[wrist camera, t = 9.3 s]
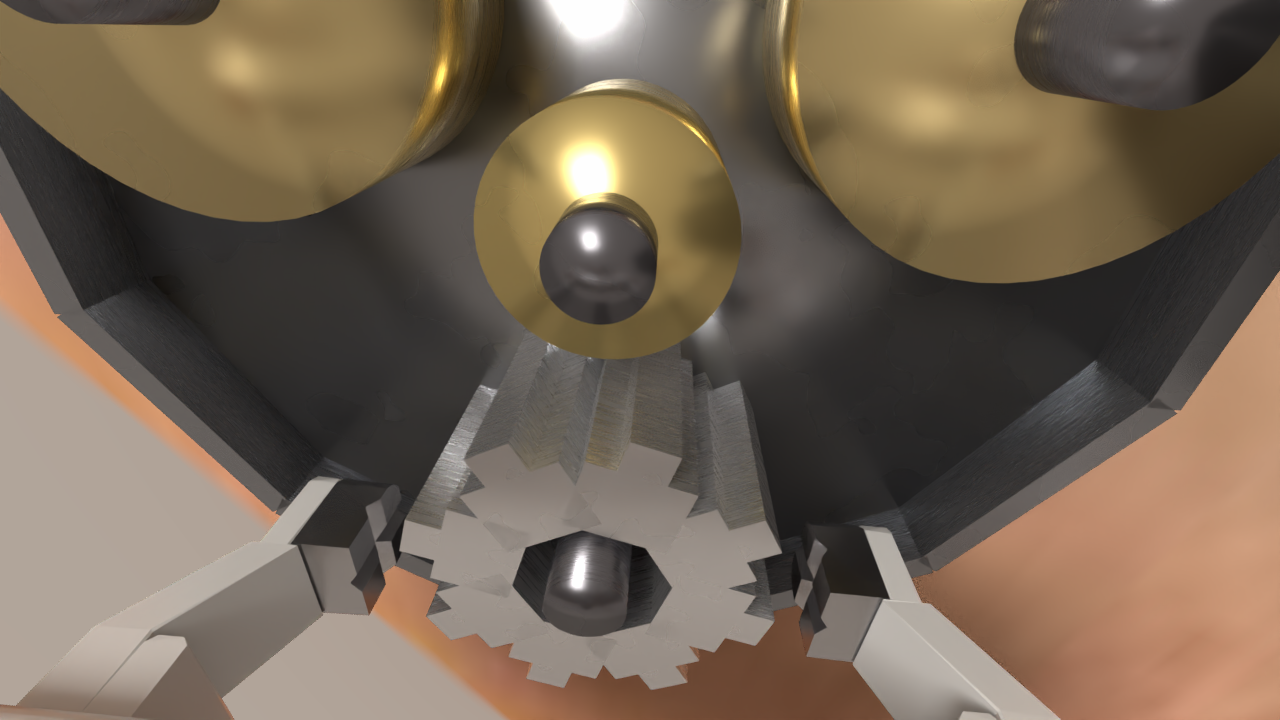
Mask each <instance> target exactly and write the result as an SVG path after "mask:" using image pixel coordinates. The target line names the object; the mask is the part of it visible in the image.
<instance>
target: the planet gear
mask: <svg viewBox="0 0 1280 720" xmlns="http://www.w3.org/2000/svg"><path fill="white" fill-rule="evenodd" d="M581 530H583V531H587V532H590V533H594V534H597V535H601V536H604V537H608V538H611V539H615V540H618V541H622V542H626V543H629V544H632V554H631V566H630V578H629V590H628V602H627V614H626V619H625V622H624V623H623V625H622V626H621V627H620V628H619V629H617V630H616V631H614V632H612V633H610V634H607V635H603V636H597V637H582V636H576V635H572V634H569V633H566V632H563V631H561V630H559V629H558V628H556V627H555V626H553V625H552V624H551V623H550V622H549V621H548V620H547V619H546V617H545V615H544V613H543V609H542V605H543V600H544V596H545V591H546V587H547V583H548V578H549V574H550V570H551V566H552V561H553V557H554V553H555V548H556V544H557V540H558V537H562V536H565V535H568V534H571V533H575V532H578V531H581ZM399 551H402V552H405V553H409V554H413V555H417V556H420V557H424V558H428V559H432V560H434V563H433V568H432V572H431V577H430V578H433V579H437V580H440V581H441V582H440V584H439V586H438V589H437V591H436V594H435V597H434V599H433V601H432V604H431V606H430V608H429V611H428V613H427V615H426V617H427V618H428V619H430V620H431V621H432V622H433V623H434V624H435V625H436V626H437V627H438V628H439V629H440V630H441V631H442V632H443V633H444V634H445V635H446V636H447V637H448V638H449V639H450V640H454V639H458V638H462V637H466V636H469V635H473V634H478V635H479V636H480V637H481V638H482V639H483V640H484V641H485V642H486V643H487V644H488V645H489V646H490V647H491V648H494V647H498V646H502V645H506V644H510V643H512V645H511V649H510V653H509V656H508V657H510V658H514V659H518V660H522V661H526V662H530V664H529V668H528V673H527V677H526V679H529V680H533V681H537V682H541V683H546V684H550V685H554V686H558V687H562V688H564V687H565V685H566V683H567V681H568V679H569V677H570V675H571V673H574V674H578V675H582V676H586V677H590V678H594V679H596V677H597V676H598V674H599V672H600V670H601V668H602V667H603V665H604V666H605V667H606V669H607V670H608V671H609V672H610V673H611V674H612V676H613V677H614V678H615V679H619V678H624V677H628V676H633V675H639V676H640V677H641V678H642V680H643V681H644V682H645V683H646V685H647V686H648V687H649V688H650V689H651V690H655V689H659V688H664V687H669V686H674V685H679V684H683V683H688V678H687V664H688V663H693V662H697V661H699V649H703V650H707V651H710V652H714V653H715V651H716V650H717V648H718V647H719V646H720V644H721V643H722V642H723V640H724V639H725V638H727V639H731V640H735V641H739V642H742V643H746V644H750V645H754V646H756V644H757V643H758V642H759V641H760V639H761V638H762V637H763V636H764V634H765V633H766V632H767V631H768V629H769V628H770V627H771V626H772V624H773V623H774V622H775V620H774V614H773V608H772V602H771V596H770V590H769V584H768V578H767V572H766V567H765V561H764V558H766V557H770V556H773V555H777V554H781V553H782V549H781V544H780V539H779V535H778V530H777V525H776V520H775V515H774V510H773V505H772V500H771V496H770V491H769V486H768V481H767V476H766V471H765V466H764V461H763V457H762V452H761V447H760V442H759V437H758V432H757V427H756V422H755V418H754V413H753V408H752V406H751V403H750V401H749V399H748V397H747V395H746V392H745V390H744V388H743V386H742V384H741V382H740V380H739V381H736V382H733V383H730V384H727V385H725V386H722V387H719V388H716V389H714V388H713V386H712V384H711V382H710V380H709V378H708V376H707V374H706V372H703V373H700V374H698V375H695V376H693V373H692V360H689V359H686V358H683V357H681V344H680V342H679V343H677V344H675V345H673V346H671V347H669V348H666V349H664V350H662V351H659V352H656V353H653V354H650V355H646V356H641V357H636V358H627V359H600V358H593V357H586V356H582V355H579V354H575V353H571V352H569V351H566V350H563V349H561V348H558V347H556V346H554V345H552V344H550V343H548V342H546V341H544V340H542V339H541V338H539V337H538V336H536V335H535V334H533V333H532V332H529V333H526V334H525V336H524V338H523V340H522V342H521V344H520V346H519V348H518V350H517V352H516V354H515V356H514V358H513V360H512V362H511V364H510V366H509V368H508V370H507V372H506V374H505V376H504V378H503V380H502V382H501V384H500V386H499V389H498V390H495V389H492V388H489V387H485V386H482V385H479V387H478V389H477V391H476V392H475V394H474V396H473V398H472V400H471V401H470V403H469V405H468V407H467V409H466V410H465V412H464V414H463V416H462V418H461V419H460V421H459V423H458V425H457V427H456V428H455V430H454V432H453V434H452V436H451V437H450V439H449V441H448V443H447V445H446V446H445V448H444V450H443V452H442V454H441V456H440V457H439V459H438V461H437V463H436V465H435V466H434V468H433V470H432V472H431V474H430V475H429V477H428V479H427V481H426V483H425V484H424V486H423V488H422V490H421V492H420V493H419V495H418V497H417V499H416V501H415V502H414V504H413V506H412V508H411V510H410V511H409V513H408V515H407V517H406V519H405V522H404V527H403V533H402V539H401V544H400V550H399Z"/></svg>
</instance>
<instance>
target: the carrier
mask: <svg viewBox="0 0 1280 720" xmlns="http://www.w3.org/2000/svg"><path fill="white" fill-rule="evenodd" d="M0 213H1V215H2V217H3V219H4V220H5V222H6V224H7V226H8V228H9V230H10V232H11V234H12V235H13V237H14V239H15V241H16V243H17V245H18V247H19V248H20V250H21V252H22V254H23V256H24V258H25V260H26V262H27V263H28V265H29V267H30V269H31V271H32V273H33V275H34V276H35V278H36V280H37V282H38V284H39V286H40V288H41V290H42V291H43V293H44V295H45V297H46V299H47V301H48V303H49V304H50V306H51V308H52V310H53V312H54V314H61V315H60V316H58V318H59V319H60V320H61V321H62V322H63V323H64V324H65V325H67V326H68V327H69V328H70V329H71V330H72V331H73V332H74V333H75V334H76V335H78V336H79V337H80V338H81V339H82V340H83V341H84V342H85V343H86V344H88V345H89V346H90V347H91V348H92V349H93V350H94V351H95V352H96V353H98V354H99V355H100V356H101V357H102V358H103V359H104V360H105V361H106V362H108V363H109V364H110V365H111V366H112V367H113V368H114V369H115V370H116V371H117V372H119V373H120V374H121V375H122V376H123V377H124V378H125V379H126V380H127V381H129V382H130V383H131V384H132V385H133V386H134V387H135V388H136V389H137V390H139V391H140V392H141V393H142V394H143V395H144V396H145V397H146V398H147V399H148V400H150V401H151V402H152V403H153V404H154V405H155V406H156V407H157V408H158V409H160V410H161V411H162V412H163V413H164V414H165V415H166V416H167V417H168V418H170V419H171V420H172V421H173V422H174V423H175V424H176V425H177V426H178V427H180V428H181V429H182V430H183V431H184V432H185V433H186V434H187V435H188V436H189V437H191V438H192V439H193V440H194V441H195V442H196V443H197V444H198V445H199V446H201V447H202V448H203V449H204V450H205V451H206V452H207V453H208V454H209V455H211V456H212V457H213V458H214V459H215V460H216V461H217V462H218V463H219V464H221V465H222V466H223V467H224V468H225V469H226V470H227V471H228V472H229V473H230V474H232V475H233V476H234V477H235V478H236V479H237V480H238V481H239V482H240V483H242V484H243V485H244V486H245V487H246V488H247V489H248V490H249V491H250V492H252V493H253V494H254V495H255V496H256V497H257V498H258V499H259V500H260V501H261V502H263V503H264V504H265V505H266V506H267V507H268V508H269V509H270V510H271V511H276V510H277V511H276V514H278V515H280V516H281V515H282V514H283V513H284V511H285V510H286V509H287V508H288V507H289V505H290V504H291V503H292V502H293V500H294V499H295V498H296V497H297V496H298V494H299V493H300V492H301V491H302V490H303V488H304V487H305V486H306V485H307V484H308V482H309V481H310V480H312V479H314V478H316V477H318V476H322V477H331V478H339V479H352V480H361V481H369V482H378V483H386V484H394V485H396V486H399V490H400V494H401V498H402V499H401V501H400V503H399V504H398V506H397V508H398V509H399V510H400V511H401V512H402V513H403V514H404V515H405V516H406V517H407V515H408V513H409V511H410V510H411V508H412V506H413V504H414V502H415V501H416V499H417V497H418V495H419V493H420V492H421V490H422V488H423V486H424V484H425V483H426V481H427V479H428V477H429V475H430V474H431V472H432V470H433V468H434V466H435V465H436V463H437V461H438V459H439V457H440V456H441V454H442V452H443V450H444V448H445V446H446V445H447V443H448V441H449V439H450V437H451V436H452V434H453V432H454V430H455V428H456V427H457V425H458V423H459V421H460V419H461V418H462V416H463V414H464V412H465V410H466V409H467V407H468V405H469V403H470V401H471V400H472V398H473V396H474V394H475V392H476V391H477V389H478V387H479V385H482V386H485V387H489V388H492V389H495V390H498V389H499V386H500V384H501V382H502V380H503V378H504V376H505V374H506V372H507V370H508V368H509V366H510V364H511V362H512V360H513V358H514V356H515V354H516V352H517V350H518V348H519V346H520V344H521V342H522V340H523V338H524V336H525V334H526V333H529V332H532V333H533V334H535V335H536V336H538V337H539V338H541V339H542V340H544V341H546V342H548V343H550V344H552V345H554V346H556V347H558V348H561V349H563V350H566V351H569V352H571V353H575V354H579V355H582V356H586V357H593V358H600V359H627V358H636V357H641V356H646V355H650V354H653V353H656V352H659V351H662V350H664V349H666V348H669V347H671V346H673V345H675V344H677V343H679V342H680V344H681V357H683V358H686V359H689V360H692V373H693V376H695V375H698V374H700V373H703V372H706V374H707V376H708V378H709V380H710V382H711V384H712V386H713V388H714V389H716V388H719V387H722V386H725V385H727V384H730V383H733V382H736V381H739V380H740V382H741V384H742V386H743V388H744V390H745V392H746V395H747V397H748V399H749V401H750V403H751V406H752V408H753V413H754V418H755V422H756V427H757V432H758V437H759V442H760V447H761V452H762V457H763V461H764V466H765V471H766V476H767V481H768V486H769V491H770V496H771V500H772V505H773V510H774V515H775V520H776V525H777V530H778V535H779V539H780V544H781V549H782V553H781V554H777V555H773V556H770V557H766V558H764V561H765V567H766V572H767V578H768V584H769V590H770V596H771V602H772V608H773V611H776V610H780V609H784V608H789V607H793V606H797V605H798V604H797V603H796V602H795V601H794V596H793V591H792V582H791V571H792V561H793V558H794V554H795V551H796V550H797V549H799V548H800V547H802V546H803V544H802V540H801V536H800V534H801V531H802V528H803V525H804V524H805V523H806V522H807V521H810V522H823V523H835V524H848V525H857V526H872V527H884V528H887V529H888V530H889V531H890V532H891V533H892V536H893V538H894V540H895V542H896V545H897V547H898V549H899V552H900V554H901V556H902V558H903V561H904V563H905V565H906V567H907V570H908V572H909V574H910V576H911V578H913V577H918V576H922V575H926V574H930V573H933V571H932V570H934V571H938V570H939V569H941V568H942V567H944V566H945V565H947V564H948V563H950V562H951V561H953V560H954V559H956V558H957V557H959V556H960V555H962V554H964V553H965V552H967V551H968V550H970V549H971V548H973V547H974V546H976V545H977V544H979V543H980V542H982V541H983V540H985V539H986V538H988V537H989V536H991V535H993V534H994V533H996V532H997V531H999V530H1000V529H1002V528H1003V527H1005V526H1006V525H1008V524H1009V523H1011V522H1012V521H1014V520H1015V519H1017V518H1018V517H1020V516H1022V515H1023V514H1025V513H1026V512H1028V511H1029V510H1031V509H1032V508H1034V507H1035V506H1037V505H1038V504H1040V503H1041V502H1043V501H1044V500H1046V499H1047V498H1049V497H1051V496H1052V495H1054V494H1055V493H1057V492H1058V491H1060V490H1061V489H1063V488H1064V487H1066V486H1067V485H1069V484H1070V483H1072V482H1073V481H1075V480H1076V479H1078V478H1080V477H1081V476H1083V475H1084V474H1086V473H1087V472H1089V471H1090V470H1092V469H1093V468H1095V467H1096V466H1098V465H1099V464H1101V463H1102V462H1104V461H1105V460H1107V459H1108V458H1110V457H1112V456H1113V455H1115V454H1116V453H1118V452H1119V451H1121V450H1122V449H1124V448H1125V447H1127V446H1128V445H1130V444H1131V443H1133V442H1134V441H1136V440H1137V439H1139V438H1141V437H1142V436H1144V435H1145V434H1147V433H1148V432H1150V431H1151V430H1153V429H1154V428H1156V427H1157V426H1159V425H1160V424H1162V423H1163V422H1165V421H1166V420H1168V419H1170V418H1171V417H1173V416H1174V415H1176V414H1177V413H1176V412H1175V411H1174V410H1181V409H1182V408H1183V406H1184V405H1185V403H1186V402H1187V400H1188V399H1189V398H1190V396H1191V395H1192V393H1193V392H1194V391H1195V389H1196V388H1197V386H1198V385H1199V384H1200V382H1201V381H1202V379H1203V378H1204V376H1205V375H1206V374H1207V372H1208V371H1209V369H1210V368H1211V367H1212V365H1213V364H1214V362H1215V361H1216V360H1217V358H1218V357H1219V355H1220V354H1221V352H1222V351H1223V350H1224V348H1225V347H1226V345H1227V344H1228V343H1229V341H1230V340H1231V338H1232V337H1233V336H1234V334H1235V333H1236V331H1237V330H1238V328H1239V327H1240V326H1241V324H1242V323H1243V321H1244V320H1245V319H1246V317H1247V316H1248V314H1249V313H1250V312H1251V310H1252V309H1253V307H1254V306H1255V305H1256V303H1257V302H1258V300H1259V299H1260V297H1261V296H1262V295H1263V293H1264V292H1265V290H1266V289H1267V288H1268V286H1269V285H1270V283H1271V282H1272V281H1273V279H1274V278H1275V276H1276V275H1277V273H1278V272H1279V271H1280V0H0ZM631 554H632V544H629V543H626V542H622V541H618V540H615V539H611V538H608V537H604V536H601V535H597V534H594V533H590V532H587V531H583V530H581V531H578V532H575V533H571V534H568V535H565V536H562V537H558V540H557V544H556V548H555V553H554V557H553V561H552V566H551V570H550V574H549V578H548V583H547V587H546V591H545V596H544V600H543V605H542V609H543V613H544V615H545V617H546V619H547V620H548V621H549V622H550V623H551V624H552V625H553V626H555V627H556V628H558V629H559V630H561V631H563V632H566V633H569V634H572V635H576V636H582V637H597V636H603V635H607V634H610V633H612V632H614V631H616V630H617V629H619V628H620V627H621V626H622V625H623V623H624V622H625V619H626V614H627V602H628V590H629V578H630V566H631ZM433 563H434V560H432V559H428V558H424V557H420V556H417V555H413V554H409V553H405V552H402V554H401V556H400V558H399V560H398V562H397V564H396V565H395V566H397V567H399V568H402V569H404V570H406V571H409V572H411V573H413V574H415V575H418V576H420V577H422V578H425V579H427V580H429V581H432V582H434V583H436V584H438V585H439V584H440V582H441V581H440V580H437V579H433V578H430V577H431V572H432V568H433Z"/></svg>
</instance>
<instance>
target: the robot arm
mask: <svg viewBox="0 0 1280 720" xmlns="http://www.w3.org/2000/svg"><path fill="white" fill-rule="evenodd" d="M401 499H402V498H401V494H400V490H399V486H396V485H394V484H386V483H378V482H369V481H361V480H352V479H339V478H331V477H322V476H318V477H316V478H314V479H312V480H310V481H309V482H308V484H307V485H306V486H305V487H304V488H303V490H302V491H301V492H300V493H299V494H298V496H297V497H296V498H295V499H294V500H293V502H292V503H291V504H290V505H289V507H288V508H287V509H286V510H285V511H284V513H283V514H282V515H281V516H280V517H279V519H278V520H277V521H276V522H275V524H274V525H273V526H272V527H271V528H270V530H269V531H268V532H267V533H266V534H265V536H264V537H263V538H262V539H261V540H260V542H257V541H251V542H249V543H247V544H245V545H243V546H241V547H240V548H238V549H236V550H234V551H232V552H230V553H228V554H227V555H225V556H223V557H221V558H219V559H217V560H216V561H214V562H212V563H210V564H208V565H206V566H204V567H203V568H201V569H199V570H197V571H195V572H193V573H192V574H190V575H188V576H186V577H184V578H182V579H180V580H179V581H177V582H175V583H173V584H171V585H169V586H167V587H165V588H164V589H162V590H160V591H158V592H156V593H154V594H152V595H151V596H149V597H147V598H145V599H143V600H141V601H139V602H138V603H136V604H134V605H132V606H130V607H128V608H127V609H125V610H123V611H121V612H119V613H117V614H115V615H114V616H112V617H110V618H108V619H106V620H104V621H102V622H101V623H99V624H97V625H95V626H94V627H93V628H92V629H91V630H90V631H89V632H88V633H87V634H86V635H85V636H84V637H83V638H82V639H81V640H80V641H79V642H78V643H77V644H76V645H75V646H74V647H73V648H72V649H71V650H70V651H69V652H68V653H67V654H66V655H65V656H64V657H63V658H62V659H61V660H60V661H59V662H58V663H57V665H55V666H54V667H53V668H52V669H51V670H50V671H49V673H47V675H46V676H44V678H43V679H42V680H41V681H40V682H39V683H38V684H37V685H36V686H35V687H34V688H33V689H32V690H31V691H30V692H29V693H28V694H27V695H26V696H25V697H24V698H23V699H22V700H21V701H20V702H19V703H18V704H17V705H16V706H10V705H0V720H234V718H233V716H232V715H231V713H230V711H229V710H228V708H227V706H226V705H225V703H224V702H223V700H222V697H224V696H225V695H226V694H227V693H229V692H230V691H231V690H232V689H233V688H235V687H236V686H237V685H238V684H239V683H241V682H242V681H243V680H244V679H245V678H247V677H248V676H249V675H250V674H252V673H253V672H254V671H255V670H256V669H258V668H259V667H260V666H262V665H263V664H264V663H265V662H266V661H268V660H269V659H270V658H271V657H273V656H274V655H275V654H276V653H277V652H279V651H280V650H281V649H282V648H284V647H285V646H286V645H287V644H288V643H290V642H291V641H292V640H293V639H294V638H296V637H297V636H298V635H299V634H301V633H302V632H303V631H304V630H305V629H307V628H308V627H309V626H310V625H312V624H313V623H314V622H315V621H316V620H318V619H319V618H320V617H321V616H322V615H323V613H322V612H324V613H339V614H354V615H355V614H356V615H370V613H371V611H372V609H373V607H374V605H375V603H376V602H377V600H378V598H379V596H380V594H381V592H382V590H383V588H384V587H385V585H386V583H385V579H384V575H383V573H384V572H386V571H387V570H388V569H390V568H391V567H393V566H394V565H396V564H397V562H398V560H399V558H400V556H401V554H402V551H399V550H400V544H401V539H402V533H403V527H404V522H405V519H406V516H405V515H404V514H403V513H402V512H401V511H400V510H399V509H398V508H397V506H398V504H399V503H400V501H401ZM800 536H801V540H802V544H803V546H802V547H800V548H799V549H797V550H796V551H795V554H794V558H793V561H792V571H791V582H792V591H793V596H794V601H795V602H796V603H797V604H798V605H799V606H800V608H801V609H802V610H803V612H802V615H801V618H800V621H799V625H800V630H801V635H802V639H803V644H804V648H805V653H806V657H814V658H822V659H830V660H838V661H846V662H853V666H854V667H855V669H856V670H857V671H858V673H859V674H860V675H861V676H862V678H863V679H864V680H865V682H866V683H867V684H868V686H869V687H870V688H871V690H872V691H873V692H874V693H875V695H876V696H877V697H878V699H879V700H880V701H881V703H882V704H883V705H884V707H885V708H886V709H887V711H888V712H889V713H890V714H891V716H892V717H893V718H894V720H1060V718H1059V717H1058V716H1057V715H1055V714H1054V713H1053V712H1052V711H1051V710H1050V709H1049V708H1047V707H1046V706H1045V705H1044V704H1043V703H1042V702H1041V701H1040V700H1038V699H1037V698H1036V697H1035V696H1034V695H1033V694H1032V693H1031V692H1029V691H1028V690H1027V689H1026V688H1025V687H1024V686H1023V685H1022V684H1020V683H1019V682H1018V681H1017V680H1016V679H1015V678H1014V677H1012V676H1011V675H1010V674H1009V673H1008V672H1007V671H1006V670H1005V669H1003V668H1002V667H1001V666H1000V665H999V664H998V663H997V662H996V661H994V660H993V659H992V658H991V657H990V656H989V655H988V654H987V653H985V652H984V651H983V650H982V649H981V648H980V647H979V646H977V645H976V644H975V643H974V642H973V641H972V640H971V639H970V638H968V637H967V636H966V635H965V634H964V633H963V632H962V631H961V630H959V629H958V628H957V627H956V626H955V625H954V624H953V623H952V622H950V621H949V620H948V619H947V618H946V617H945V616H944V615H942V614H941V613H940V612H939V611H938V610H937V609H936V608H935V607H933V606H932V605H931V604H928V603H922V601H921V599H920V597H919V595H918V592H917V590H916V588H915V586H914V583H913V581H912V579H911V576H910V574H909V572H908V570H907V567H906V565H905V563H904V561H903V558H902V556H901V554H900V552H899V549H898V547H897V545H896V542H895V540H894V538H893V536H892V533H891V532H890V531H889V530H888V529H887V528H884V527H872V526H857V525H848V524H835V523H823V522H810V521H807V522H806V523H805V524H804V525H803V528H802V531H801V534H800Z"/></svg>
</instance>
